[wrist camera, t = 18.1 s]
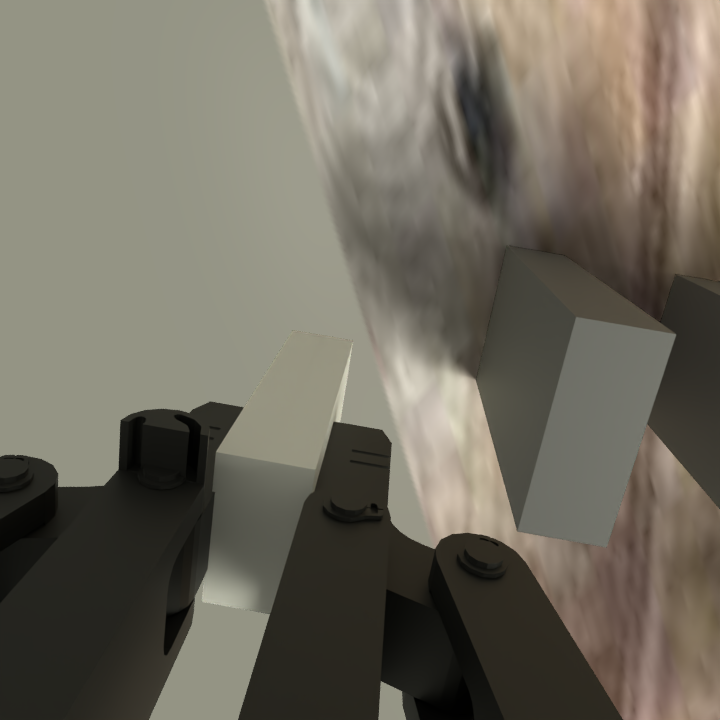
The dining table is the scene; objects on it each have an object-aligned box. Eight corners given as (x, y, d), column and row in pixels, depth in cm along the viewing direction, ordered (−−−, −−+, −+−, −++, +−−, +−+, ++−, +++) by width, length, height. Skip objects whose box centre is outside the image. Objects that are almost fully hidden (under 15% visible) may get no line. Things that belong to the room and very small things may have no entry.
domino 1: (529, 389, 29) (606, 547, 17) (476, 380, 29) (517, 531, 17) (564, 255, 27) (676, 334, 15) (506, 245, 27) (576, 316, 16)
